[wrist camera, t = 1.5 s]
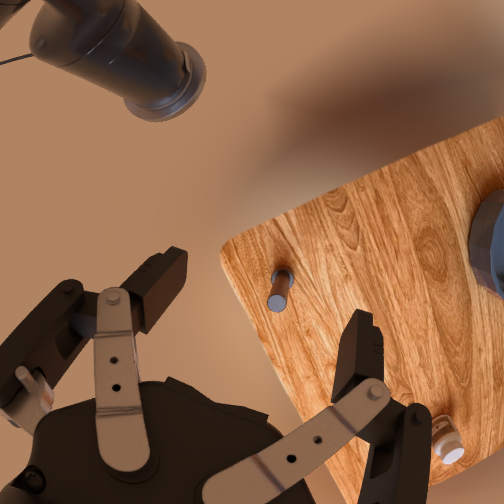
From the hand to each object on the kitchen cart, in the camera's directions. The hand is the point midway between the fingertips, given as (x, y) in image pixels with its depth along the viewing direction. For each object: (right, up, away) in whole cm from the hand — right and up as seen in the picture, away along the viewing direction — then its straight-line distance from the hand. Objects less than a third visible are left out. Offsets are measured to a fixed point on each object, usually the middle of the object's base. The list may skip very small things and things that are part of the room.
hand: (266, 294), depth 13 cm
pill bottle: (+28, -24, +20) cm, 42 cm away
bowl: (+32, +3, +14) cm, 35 cm away
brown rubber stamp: (+3, -1, +20) cm, 20 cm away
